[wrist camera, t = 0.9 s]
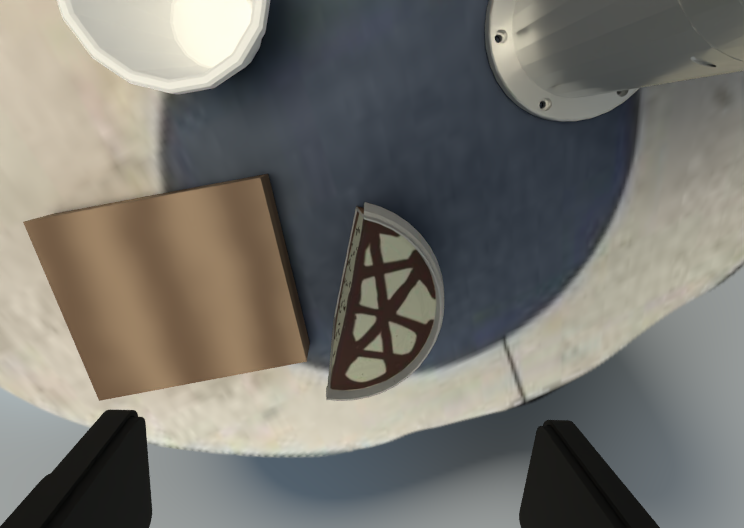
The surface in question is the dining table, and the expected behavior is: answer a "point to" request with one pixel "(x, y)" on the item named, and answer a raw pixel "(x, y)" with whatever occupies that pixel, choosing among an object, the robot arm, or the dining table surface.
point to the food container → (383, 306)
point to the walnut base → (175, 286)
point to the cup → (169, 39)
